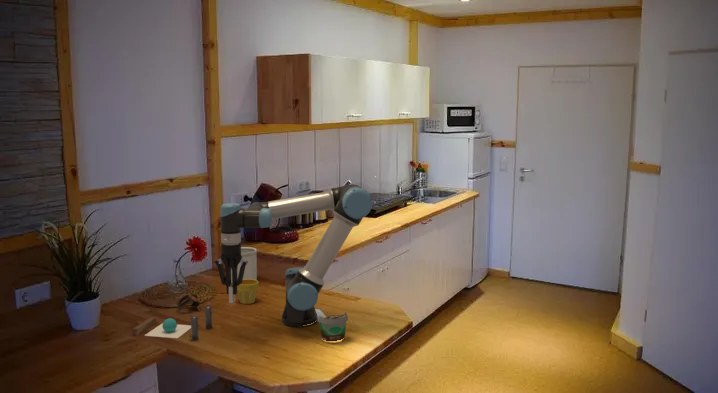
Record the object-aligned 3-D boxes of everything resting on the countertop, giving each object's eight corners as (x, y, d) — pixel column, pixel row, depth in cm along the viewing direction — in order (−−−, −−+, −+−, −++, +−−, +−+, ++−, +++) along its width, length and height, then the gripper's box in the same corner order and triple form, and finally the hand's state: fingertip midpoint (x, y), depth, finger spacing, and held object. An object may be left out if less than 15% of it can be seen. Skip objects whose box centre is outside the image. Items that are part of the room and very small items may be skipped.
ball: (164, 325, 238) (175, 332, 238) (157, 329, 233) (169, 336, 232) (170, 314, 237) (181, 321, 237) (163, 318, 232) (175, 325, 232)
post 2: (213, 327, 241) (212, 306, 240) (210, 329, 238) (209, 308, 237) (207, 326, 241) (206, 305, 240) (204, 328, 239) (203, 307, 238)
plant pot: (254, 297, 281) (253, 277, 280) (262, 303, 273) (261, 282, 271) (233, 300, 276) (232, 280, 275) (240, 306, 267) (240, 285, 266)
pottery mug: (199, 315, 257) (189, 300, 255) (181, 322, 259) (171, 308, 256) (206, 300, 268) (197, 286, 266) (189, 307, 270) (179, 293, 268)
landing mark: (193, 326, 242) (193, 325, 242) (177, 338, 228) (177, 338, 228) (162, 323, 244) (162, 323, 244) (144, 335, 231) (144, 335, 231)
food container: (324, 346, 222) (324, 321, 220) (317, 341, 227) (317, 316, 226) (353, 341, 227) (353, 316, 226) (346, 336, 233) (346, 311, 231)
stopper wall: (155, 323, 245) (155, 317, 245) (137, 335, 231) (137, 329, 231) (151, 322, 245) (151, 317, 245) (132, 334, 232) (132, 328, 231)
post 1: (199, 338, 229) (198, 316, 228) (196, 340, 226) (195, 318, 225) (193, 337, 229) (192, 315, 228) (190, 340, 227) (189, 317, 225)
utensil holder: (224, 285, 300) (223, 252, 298) (234, 278, 314) (234, 246, 312) (251, 287, 298) (251, 253, 295) (261, 279, 312) (260, 247, 310)
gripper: (211, 244, 224) (212, 303, 227) (243, 246, 222) (244, 306, 225) (219, 240, 231) (220, 298, 235) (250, 242, 229) (251, 300, 232)
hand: (232, 302), depth 230 cm, fingers closed
